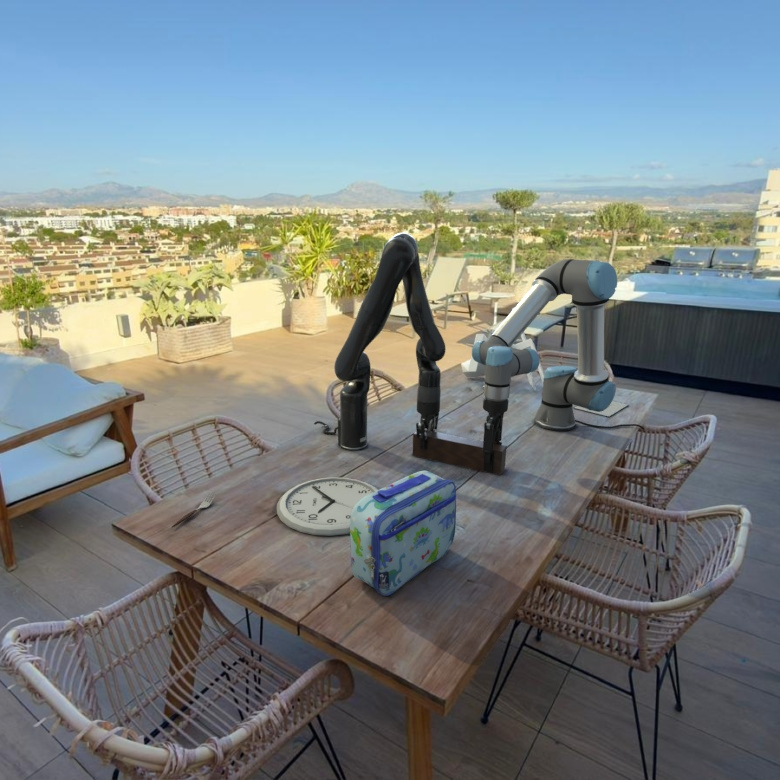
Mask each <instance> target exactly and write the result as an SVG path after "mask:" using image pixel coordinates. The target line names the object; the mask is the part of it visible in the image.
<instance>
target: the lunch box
mask: <svg viewBox="0 0 780 780" xmlns="http://www.w3.org/2000/svg"><path fill="white" fill-rule="evenodd" d="M456 519H457V488H456V484H455V482H454V480H452V479H449V478H448V479H447V478H446V479H445V478H442V477H440V476H439V475H437V474H434V473H432V471H428V470H419V471H417V472H414V473H412V474H410V475H407V476H405V477H403V478H400V479H399V480H396V481H394V482H392V483H390V484H388V485H386V486H384V487H382V488H380V489H379V490H378V491H376V492H374V493H372V494H370V495H367V496H365V497H364V498H362V499H360V500H359V501H358V502H357V503H356V505H355V506H354V508H353V510H352V513H351V517H350V533H349V540H350V566H351V573H352V575H353V577H354V578H355V579H357V580H359V581H362V582H363V583H365V584H367V585H368V586H370V587H371V588H373V589H374V590H375V592H376V593H378V594H379V595H381V596H386V597H387V596H390V595H392V594H394V593H395V592H396V591H398V590H399V589H400V588H401V587H402V586H404V585H405V584H407V583H408V582H409V581H411V580H412V579H413V578H415V577H416V576H418V575H419V574H420V573H421V572H423V571H424V570H425V569H426V568H428V566H430V565H432V564H434V563H435V562H437V561H438V560H440V559H441V558H442V557H444V556H445V555H446V554H447V553H448V552H449V550H450V548H451V547H452V545H453V542H454V539H455V535H456V524H457V523H456V522H457V520H456Z"/></svg>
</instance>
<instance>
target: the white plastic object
mask: <svg viewBox="0 0 780 780" xmlns="http://www.w3.org/2000/svg"><path fill="white" fill-rule="evenodd" d="M515 307H516V306H515ZM515 307H512V308H511V311H512V310H513V309H514V308H515ZM488 338H489V337H487V336H486V334H485V333H476V334H475V338H474V342H473V345H474V344H475V343H476V342H478V341H481V340H482V341H483V340H485V341H487V340H488ZM520 338H521V341H520V342H517V343H514V344H513V345H512V346H511V348H515V349H520V350H523V349H533V350H535V351H536V352H537V353H538V351H537V347H536V344H535V343H534V341H533V339H532V338H530V337H529V338H527V337H526V334H525V331H524V332H523V333H522V334H521V336H520ZM460 366H461V371H462V373H463V374H464V376H465V377H466V378H477V377H485V372H486V365H483V364H481V363H478V362H476V361H475V360H474V359H473V357H472V355H471V356H470V359H468V360H466V361H463V362H461V363H460ZM537 371H538V374H539V376H540V379H541V382H542V383H543V381H544V379H543V378H544V375H545V371H544V369H543V366H542V362H540V363H539V366H538V368H537ZM526 377H527V379H528V382H529V384H530V387H532V389H533V390H534V391H537V390H536V389H537V387H536V383H535V380H534V376H533V373H532V372H530V373H528V374H526Z"/></svg>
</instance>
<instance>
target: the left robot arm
mask: <svg viewBox="0 0 780 780" xmlns="http://www.w3.org/2000/svg"><path fill="white" fill-rule="evenodd" d="M423 279H424V278H423V275H422V268H421V263H420V255H419V246H418V243H417V240H416V239H415V238H414V237H413V236H412V235H411V234H409V233H407V232H399V233H396V234H395V235H393V236H392V237H390V239H389V240H388V241H387V242H386V243H385V245H384V246H383V249H382V252H381V257H380V260H379V264H378V267H377V269H376V273H375V276H374V279H373V281H372V282H371V284H370V286H369V288H368V289H367V291H366V294H365V295H364V298H363V300H362V302H361V304H360V307H359V308H358V312H357V314H356V317H355V319H354V322H353V323H352V327H351V329H350V331H349V333H348V336H347V338H346V340H345V342H344V343H343V345H342V347H341V349H340V351H339V353H338V355H337V356H336V359H335V361H334V368H333V369H334V375H335V376H336V378H337V379H338V380H339V381H342V382H346V384H345V385H344V386H343V387H342V388H341V389H340V391H339V418H338V419H337V426H336V427H334V429H333V431H328V430H329V429H330V426H329V425H328V424H327V423H325V422H323V421H320V420H316V421H315V422H314V423H313V425H317V424H320V425H322V426H324V427H325V428H324V429H323V430H322V432H323V433H324V434H325V435H326V434H327V435H336V434H337V445H338V446H340V447H341V448H342V449H344V450H348V451H358V450H363V449H366V448H367V446H368V393H369V392H370V387H371V369H372V368H371V360H370V358H369V356H368V354H367V352H365V350H366V349H367V347H368V346H370V344H371V343H372V342H373V341H374V340H375V339H376V338H377V337H378V336H379V335H380V334H381V332H382V331H383V330H384V328H385V326H386V324H387V322H388V319H389V317H390V315H391V312H392V310H393V306H394V302H395V297H396V293H397V290H398V288H399V286H400V284H401V282H402V284H403V290H404V291H403V292H404V299H405V306H406V311H407V314H408V318H409V321H410V325H411V327H412V330H413V331H414V333H415V334H416V335H417V336H418V337H419V339H418V340H417V342H416V346H415V357H416V365H417V368H418V381H417V383H418V384H417V391H416V412H417V413H418V414H420V417H419V422H416V424H415V428H416V429H415V430H416V431H417V439H420V449H422V450H426V449H427V437H428V433H429V432H430V431H433V432H436V431H437V430H438V424H439V417H440V416H439V415H440V411H441V392H442V391H441V379H442V377H441V375H442V374H441V369H440V367H439V366H438V365H437V362H440V361H441V360H442V359H443V358H444V357H445V355H446V350H447V349H446V343H445V340H444V338H443V335H442V334H441V332H440V329H439V328H438V326H437V324H436V323H435V318H434V315H433V311H432V309H431V306H430V305H431V304H430V302H429V298H428V295H427V291H426V287H425V284H424V280H423ZM325 425H327V426H325ZM416 431H415V432H416Z"/></svg>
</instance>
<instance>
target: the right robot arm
mask: <svg viewBox="0 0 780 780" xmlns="http://www.w3.org/2000/svg"><path fill="white" fill-rule="evenodd" d="M617 287H618V273H617V271H616V269H615V267H614V265H612V264H611V263H610V262H607V261H601V260H592V259H591V260H589V259H574V258H567V259H561V260H559V261H557V262H555V263H553V264H551V265H550V266H548V267H547V268H545V269H544V270H543V271H542V272H541V273H539V275H538V276H537V277H535V279H534V280H533V281H532V283H531V288H530V289H529V290H528V291H527V292H526V294H525V295H524V296H523V297H522V299H521V300H520V301H519V302H518V303H517V304H516V306H515V308H514V307H513V308H514V309H513V310H512V309H511V311H510V312H509V314H508V315H507V316H506V317H505V318H504V320H503V321H501V323H500V324H499V325H498V326H497V328H496V329H495V330H494V331H493V333H492V334H491V335H490V336H489V337H487V338H488V340H487V341H485V340H483V341H482V340H481V341H478V342H476V343H475V344H474V343H473V346H472V348H471V356H472V357H473V359H474V360H475V361H476V362H478V363H481V364H483V365H486V372H485V376H484V385H482V389H483V397H482V398H483V399H482V409H483V410H484V411H485V412H487V413H488V414H487V415H486V418H485V419H486V420H485V421H486V422H484V423H483V427H484V429H483V440H482V441H483V450H482V452H484V453H485V454H484V467H483V471H482V472H484V471H488V472H492V469H493V457H494V452H493V448H494V444H499V445H503V442H502V435H503V423H504V416H505V413H506V412H507V411H508V410H509V402H510V401H509V398H510V392H511V391H510V389H511V378H512V377H515V376H522V375H527V374H528V373H530V372H531V373H532V372H535V371H537V370H538V366H539V363H541V360H540V359H541V358H540V356H539V354H538V351H537V350H536V351H537V352H536V351H535V350H533V349H523V350H520V349H515V348H511V346H512V345H513V344H516V342H517V340H518V339H519V338H521V334H522V333H523V332H524V333H525V331H526V330H527V329H528V328H529V327H530V325H531V324H532V323H533V321H534V320H535V319H536V318H537V317H538V316H539V315H540V314H541V312H542V311H543V309H544V308H545V307H546V306H547V305H548V304H549V302H554V301H555V300H556V299H557V297H558V296H560V295H571V303H572V305H573V306H574V307H576V318H577V319H576V324H577V325H576V327H577V367H576V366H571V365H570V366H569V365H557V366H556V365H555V366H550V367H547V368H546V369H545V371H544V374H545V375H544V378H543V379H544V381H543V382H542V394H541V402H540V405H539V407H538V410H537V411H536V413H535V416H534V424H535V425H536V426H537V427H539V428H542V429H544V430H549V431H556V432H567V431H572V430H574V429H575V428H576V423H577V424H580V425H584V426H588V427H591V428H592V427H593V428H599V429H615V428H620V427H638V428H640V429H641V430H645V427H644V426H642V425H640V424H638V423H633V424H632V423H629V424H627V423H624V424H623V423H622V424H617V425H612V426H609V425H608V426H606V425H605V426H604V425H596V424H591V423H586V422H583V421H580V420H578V419H576V418H575V417H576V416H575V413H574V407H573V406H575V407H576V406H580V407H583V408H586V409H589V410H593V411H596V412H601V411H604V410H605V409H606V408H607V407H608V406H609V405H610V404H611V402H612V401H614V398H615V395H616V392H617V391H616V390H617V386H616V384H615V383H614V382H613V381H611V380H610V379H609V378H610V377H609V371H607V370H606V369H605V306H606V305H607V304H608V303H609V302H610V298H612V297H613V296H614V294H615V292H616V288H617ZM488 472H487V473H488Z"/></svg>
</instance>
